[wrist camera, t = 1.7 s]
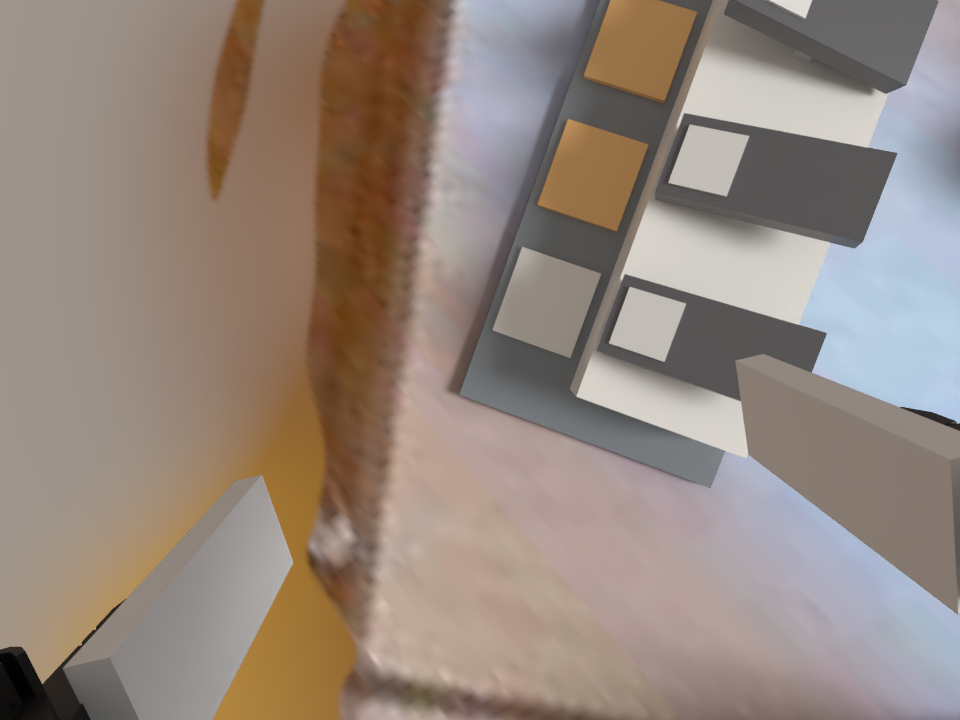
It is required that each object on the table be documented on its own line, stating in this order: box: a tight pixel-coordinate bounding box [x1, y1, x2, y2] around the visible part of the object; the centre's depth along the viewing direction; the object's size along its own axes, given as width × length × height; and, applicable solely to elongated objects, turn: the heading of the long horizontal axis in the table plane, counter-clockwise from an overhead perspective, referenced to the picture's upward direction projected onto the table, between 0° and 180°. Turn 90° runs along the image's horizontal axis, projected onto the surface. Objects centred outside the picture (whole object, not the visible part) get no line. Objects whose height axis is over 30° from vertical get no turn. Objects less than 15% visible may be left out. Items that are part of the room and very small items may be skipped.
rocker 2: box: [724, 0, 939, 94], centre depth 28 cm, size 10×4×1 cm, turn 70°
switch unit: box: [459, 0, 889, 488], centre depth 34 cm, size 18×34×8 cm, turn 160°
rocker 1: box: [596, 274, 827, 402], centre depth 29 cm, size 10×4×1 cm, turn 71°
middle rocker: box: [655, 113, 897, 248], centre depth 28 cm, size 10×4×1 cm, turn 71°
